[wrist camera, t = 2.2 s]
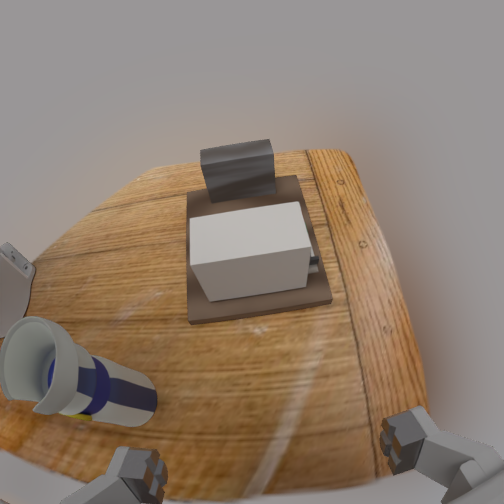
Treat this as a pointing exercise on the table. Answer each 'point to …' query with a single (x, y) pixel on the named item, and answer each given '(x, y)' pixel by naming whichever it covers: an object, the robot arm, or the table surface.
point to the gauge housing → (250, 251)
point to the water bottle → (71, 377)
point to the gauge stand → (245, 197)
